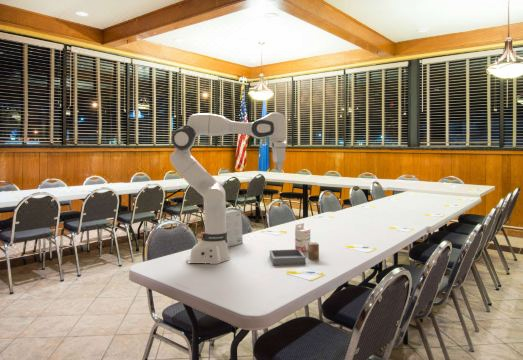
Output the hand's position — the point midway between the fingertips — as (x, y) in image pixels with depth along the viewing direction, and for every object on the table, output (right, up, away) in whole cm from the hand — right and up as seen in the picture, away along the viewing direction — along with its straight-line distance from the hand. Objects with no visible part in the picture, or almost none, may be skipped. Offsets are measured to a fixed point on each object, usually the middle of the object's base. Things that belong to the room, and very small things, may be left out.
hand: (278, 170), depth 209 cm
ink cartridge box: (+14, -44, +17) cm, 50 cm away
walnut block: (+18, -46, -1) cm, 49 cm away
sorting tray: (+4, -46, -3) cm, 46 cm away
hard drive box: (-28, -44, +33) cm, 62 cm away
